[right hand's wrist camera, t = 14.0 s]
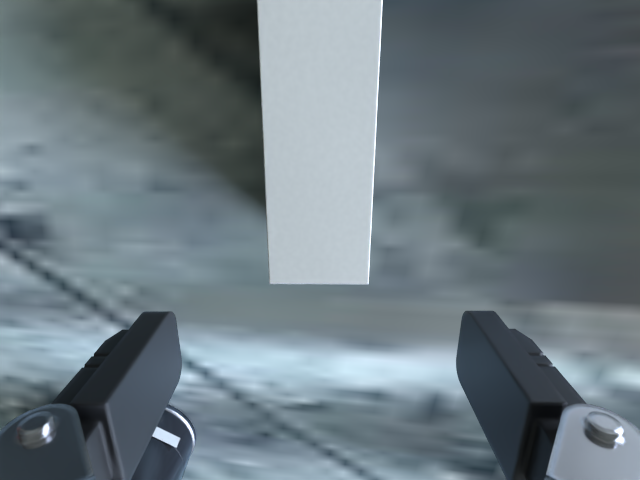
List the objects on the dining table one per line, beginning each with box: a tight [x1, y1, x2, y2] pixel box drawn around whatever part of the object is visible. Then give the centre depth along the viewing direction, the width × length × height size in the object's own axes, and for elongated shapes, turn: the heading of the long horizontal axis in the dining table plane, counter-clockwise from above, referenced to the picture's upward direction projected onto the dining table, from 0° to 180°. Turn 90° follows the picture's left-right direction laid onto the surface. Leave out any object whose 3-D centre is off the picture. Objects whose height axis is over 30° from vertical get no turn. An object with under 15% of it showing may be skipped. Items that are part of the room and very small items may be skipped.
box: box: [257, 0, 382, 284], centre depth 26 cm, size 26×6×13 cm, turn 0°
